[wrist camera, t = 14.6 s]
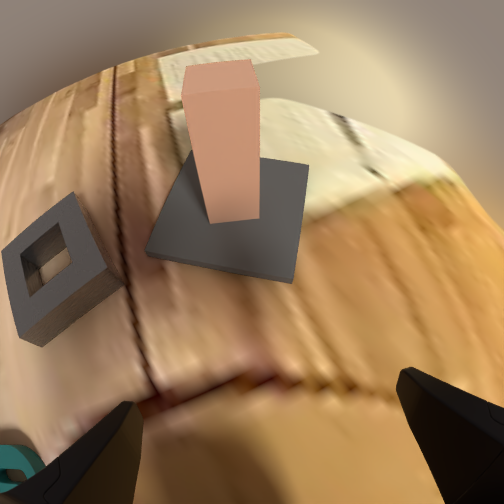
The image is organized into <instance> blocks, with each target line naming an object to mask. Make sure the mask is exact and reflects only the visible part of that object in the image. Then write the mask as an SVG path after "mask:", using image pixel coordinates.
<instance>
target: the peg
mask: <svg viewBox="0 0 504 504" xmlns="http://www.w3.org/2000/svg"><path fill="white" fill-rule="evenodd" d="M181 97H182V102H183V107H184V112H185V117H186V121H187V126H188V131H189V135H190V140H191V145H192V149H193V154H194V158H195V163H196V167H197V171H198V176H199V180H200V184H201V189H202V193H203V197H204V201H205V206H206V210H207V214H208V218H209V222H210V224H213V223H222V222H231V221H240V220H249V219H259V199H260V86H259V83H258V80H257V77H256V74H255V71H254V68H253V65H252V62H251V59H249V60H235V61H224V62H214V63H206V64H199V65H192V66H186V70H185V75H184V81H183V87H182V94H181Z"/></svg>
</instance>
